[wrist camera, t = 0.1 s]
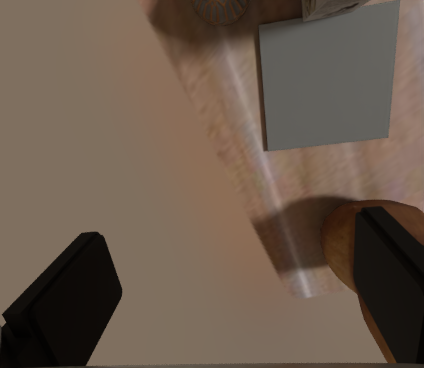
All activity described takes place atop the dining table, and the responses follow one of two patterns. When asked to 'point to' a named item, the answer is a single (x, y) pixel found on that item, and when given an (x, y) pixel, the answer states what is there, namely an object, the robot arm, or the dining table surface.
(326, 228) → the butternut squash
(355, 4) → the coffee box
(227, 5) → the vase
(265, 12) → the dining table surface
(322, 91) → the plate
